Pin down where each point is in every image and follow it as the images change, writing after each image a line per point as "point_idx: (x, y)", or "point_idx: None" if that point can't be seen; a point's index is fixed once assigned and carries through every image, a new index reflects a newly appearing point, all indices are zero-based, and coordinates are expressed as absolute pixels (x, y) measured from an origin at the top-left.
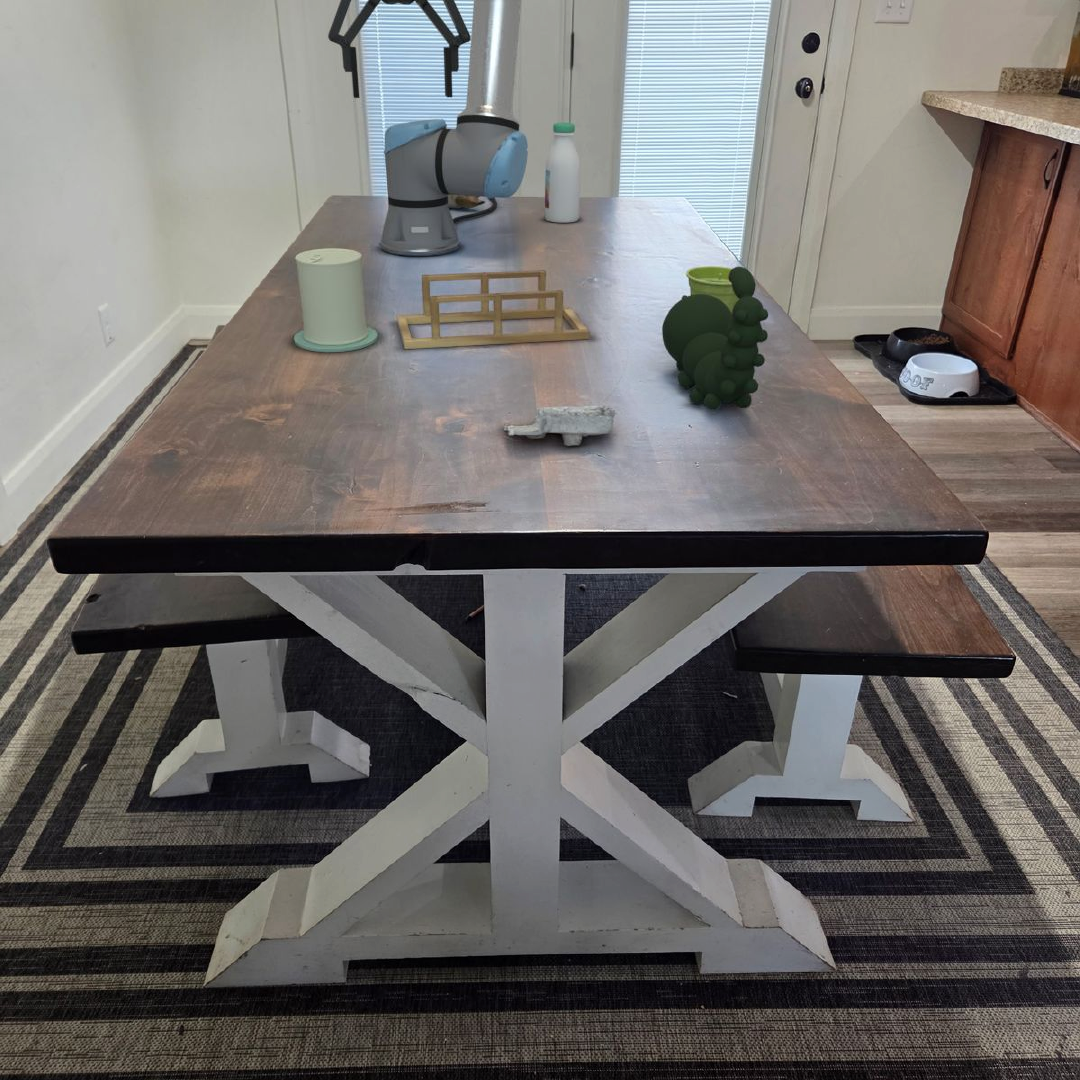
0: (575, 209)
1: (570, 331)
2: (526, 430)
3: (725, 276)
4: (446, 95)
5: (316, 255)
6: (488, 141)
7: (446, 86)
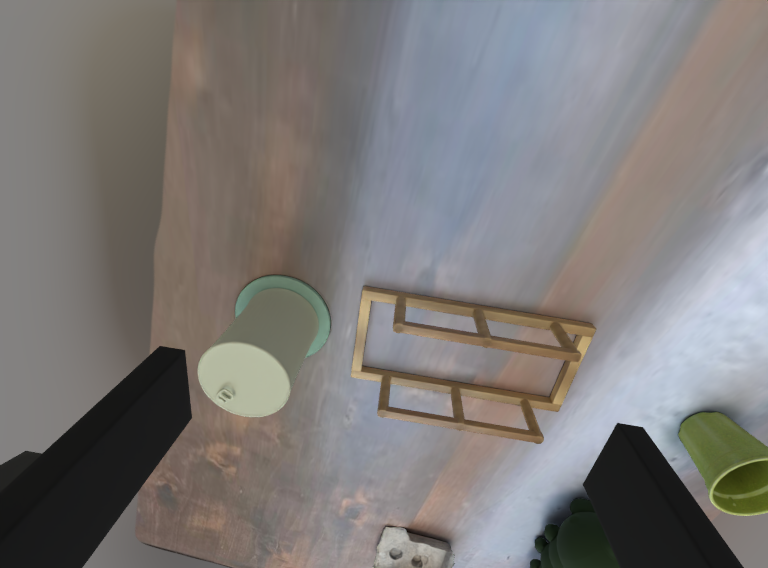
0: None
1: (537, 406)
2: (392, 547)
3: None
4: (597, 466)
5: (225, 391)
6: None
7: (612, 513)
